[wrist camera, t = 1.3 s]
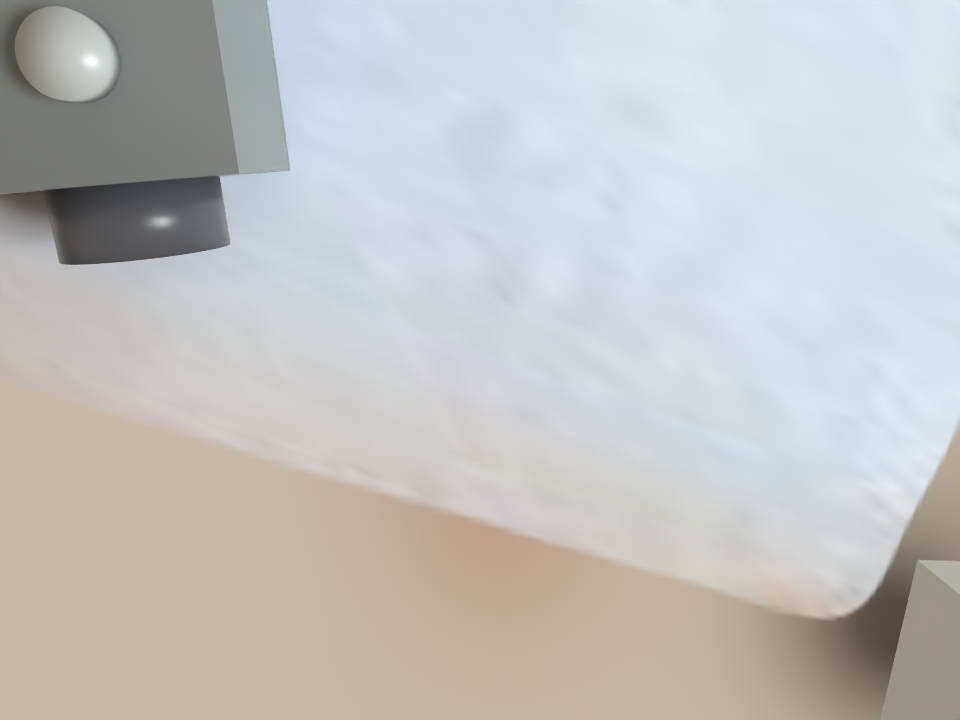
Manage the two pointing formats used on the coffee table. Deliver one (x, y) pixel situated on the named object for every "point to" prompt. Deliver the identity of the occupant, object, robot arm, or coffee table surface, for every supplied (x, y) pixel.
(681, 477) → the coffee table surface
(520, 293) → the coffee table surface
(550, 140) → the coffee table surface
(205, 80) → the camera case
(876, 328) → the coffee table surface
